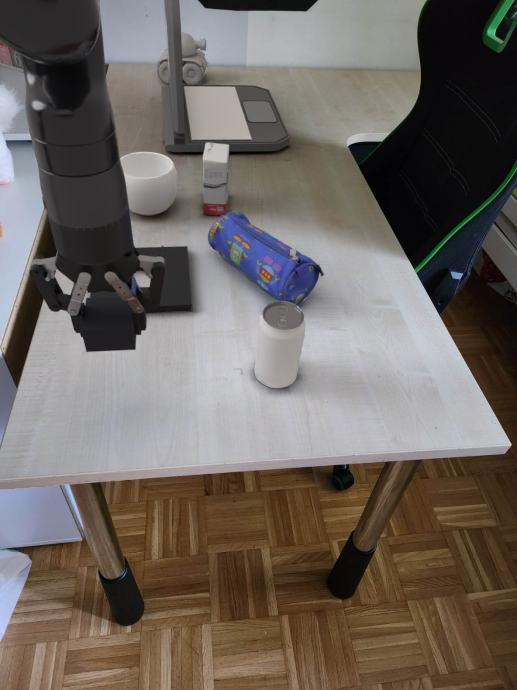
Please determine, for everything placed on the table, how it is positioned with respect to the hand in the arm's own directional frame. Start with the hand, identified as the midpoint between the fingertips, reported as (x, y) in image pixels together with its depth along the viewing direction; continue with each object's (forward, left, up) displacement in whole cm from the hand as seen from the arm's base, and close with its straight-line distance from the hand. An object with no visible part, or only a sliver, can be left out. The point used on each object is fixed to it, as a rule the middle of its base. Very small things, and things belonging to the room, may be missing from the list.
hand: (111, 330), depth 61 cm
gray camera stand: (+22, +94, -15) cm, 98 cm away
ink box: (+17, +52, -15) cm, 57 cm away
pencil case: (+23, +27, -15) cm, 39 cm away
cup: (+3, +51, -15) cm, 54 cm away
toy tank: (+13, +125, -15) cm, 127 cm away
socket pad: (+2, +27, -15) cm, 31 cm away
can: (+22, +4, -15) cm, 27 cm away
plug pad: (0, 0, -1) cm, 1 cm away
